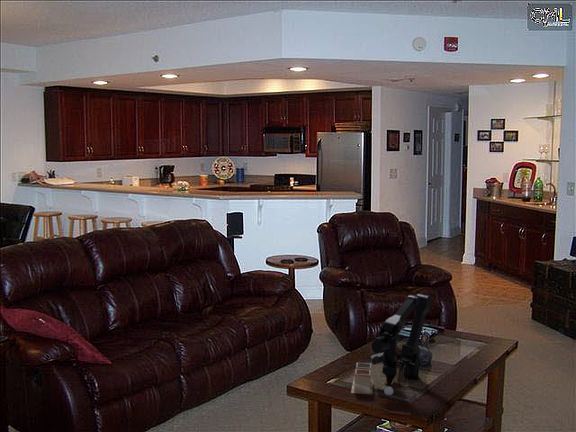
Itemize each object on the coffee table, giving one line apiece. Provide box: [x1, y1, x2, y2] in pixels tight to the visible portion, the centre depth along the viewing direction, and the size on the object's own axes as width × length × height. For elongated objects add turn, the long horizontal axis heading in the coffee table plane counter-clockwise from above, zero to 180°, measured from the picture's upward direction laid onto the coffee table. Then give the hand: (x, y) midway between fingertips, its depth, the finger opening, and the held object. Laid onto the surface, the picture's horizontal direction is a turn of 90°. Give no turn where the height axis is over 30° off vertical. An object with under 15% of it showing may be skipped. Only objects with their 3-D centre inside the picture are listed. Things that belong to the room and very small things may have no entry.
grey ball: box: [383, 385, 394, 396], centre depth 281 cm, size 4×4×4 cm
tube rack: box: [350, 362, 374, 395], centre depth 289 cm, size 18×9×9 cm, turn 171°
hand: (388, 382), depth 294 cm, fingers open, 8 cm apart
